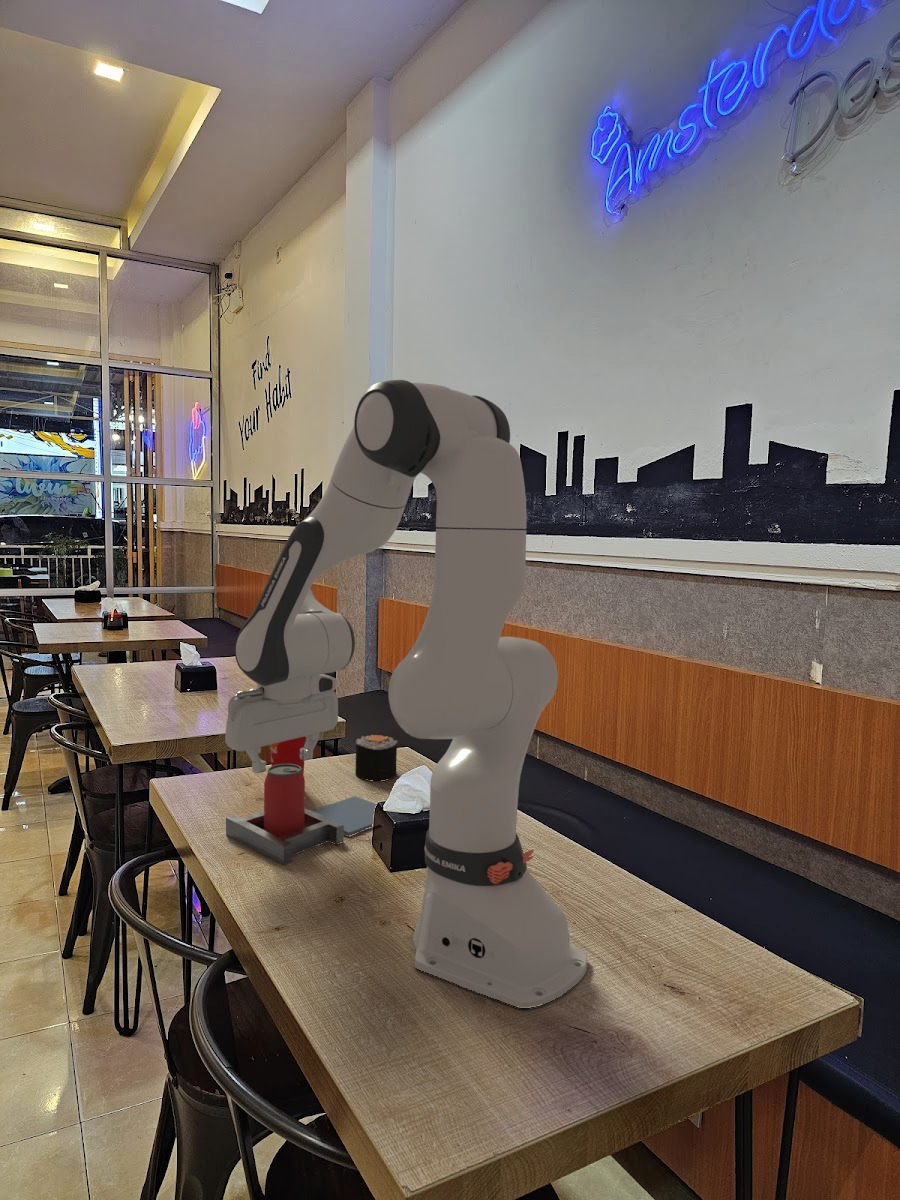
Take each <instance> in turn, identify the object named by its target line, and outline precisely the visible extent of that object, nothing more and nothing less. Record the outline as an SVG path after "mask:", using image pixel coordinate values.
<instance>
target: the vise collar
mask: <svg viewBox="0 0 900 1200" xmlns="http://www.w3.org/2000/svg"><path fill="white" fill-rule="evenodd" d="M225 835H226V836H228V837H229V838H231V839H234V840H235V841H237V842H239V843H241V844H243V845H245V846H246V847H248V848H250V849H251V850H253V851H256V852H257V853H260V854H262V855H263V856H265V857H267V858H269V859H270V860H273V861H275V862H276V863H279V864H280V865H282V866H286V865H288V864H289V865H290V864H291V863H292V859H293V858H292V857H293V854H294V855H297V854H299V853H301V851H302V852H304V851H303V850H305V851H307V850H309V849H308V848H310V849H312V848H311V847H313V846H315V847H317V846H316V845H318V844H321V843H323V844H325V843H324V842H326V841H331V842H333V843H335V844H338V843H340V842H343V843H344V840H345V839H344V836H345V835H344V825H342V824H340V823H338V822H336V821H333V820H331V819H329V818H326V817H324V816H322V815H320V814H317V813H315V812H313V811H311V810H310V809H308V808H306V807H305V819H304V828H303V829H300V830H297V831H295V832H292V833H289V834H286V835H283V836H280V837H277V836H275V835H273V834H271V833H269V832H267V831H265V830H264V810H263V811H261V812H257V813H253V814H250V815H247V816H244V817H238V816H236V815H234V814H233V815H230V816H229V815H228V816H226V817H225ZM331 842H330V843H331ZM326 843H327V842H326ZM333 843H332V844H333ZM335 844H334V845H335ZM321 845H322V844H321ZM338 845H339V844H338ZM318 846H319V845H318ZM313 848H314V847H313ZM306 849H307V850H306ZM298 852H299V853H298ZM296 853H297V854H296Z"/></svg>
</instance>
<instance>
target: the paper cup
mask: <svg viewBox="0 0 900 1200" xmlns="http://www.w3.org/2000/svg"><path fill="white" fill-rule="evenodd" d="M306 740H307V737H305V736H304V737H300V738H296V739H291V740H287V741H283V742H279V743H275V744H271V745H269V746H270V763H271V765H270V767H271V766H274V765H278V764H295V765H298V766H300V767H301V768H302V773H303V775H305V774H304V771H305V761H304V760H302V759H300V749H301V748H304V745H305V742H306Z"/></svg>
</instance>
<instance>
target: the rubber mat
mask: <svg viewBox="0 0 900 1200" xmlns="http://www.w3.org/2000/svg"><path fill="white" fill-rule="evenodd" d="M376 805H378V804H376V803H374V802H371V801H368V799H367V800H366V799H364V798H361V797H358V796H356V795H354V796H352V797H351V796H350V797H348V798H345V799H341V800H340V801H336V802H333V803H330V804H327V805H325V806H321V807H318V808H314V809H311V810H310V811H313V812H315V813H317V814H320V815H322V816H324V817H326V818H329V819H331V820H333V821H336V822H338V823H340V824H342V825H344V834H346V835H348V836H349V835H352V834H355V833H357V832H360V831H362V830H365V829H366V828H369V827H372V824H373V814H374V809H375V806H376Z"/></svg>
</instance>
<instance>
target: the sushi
mask: <svg viewBox="0 0 900 1200" xmlns="http://www.w3.org/2000/svg"><path fill="white" fill-rule="evenodd" d="M397 748H398V740H394V738H393V737H392V736H388V735H386V736H384V735H380V734H379V735H378V734H371V735H366V736H364V735H361V737H360V738H357V739H356V740H355V776H356V777H357V778H359V777H360V778H359V779H362V778H363V779H362V780H365V779H368V780H373V781H381V780H386V779H389V778H391V777H394V776H395V777H397V757H398V756H397V753H398V749H397ZM395 777H394V778H395ZM391 779H392V778H391ZM368 780H367V781H368ZM389 780H390V779H389ZM373 781H372V782H373Z"/></svg>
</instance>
